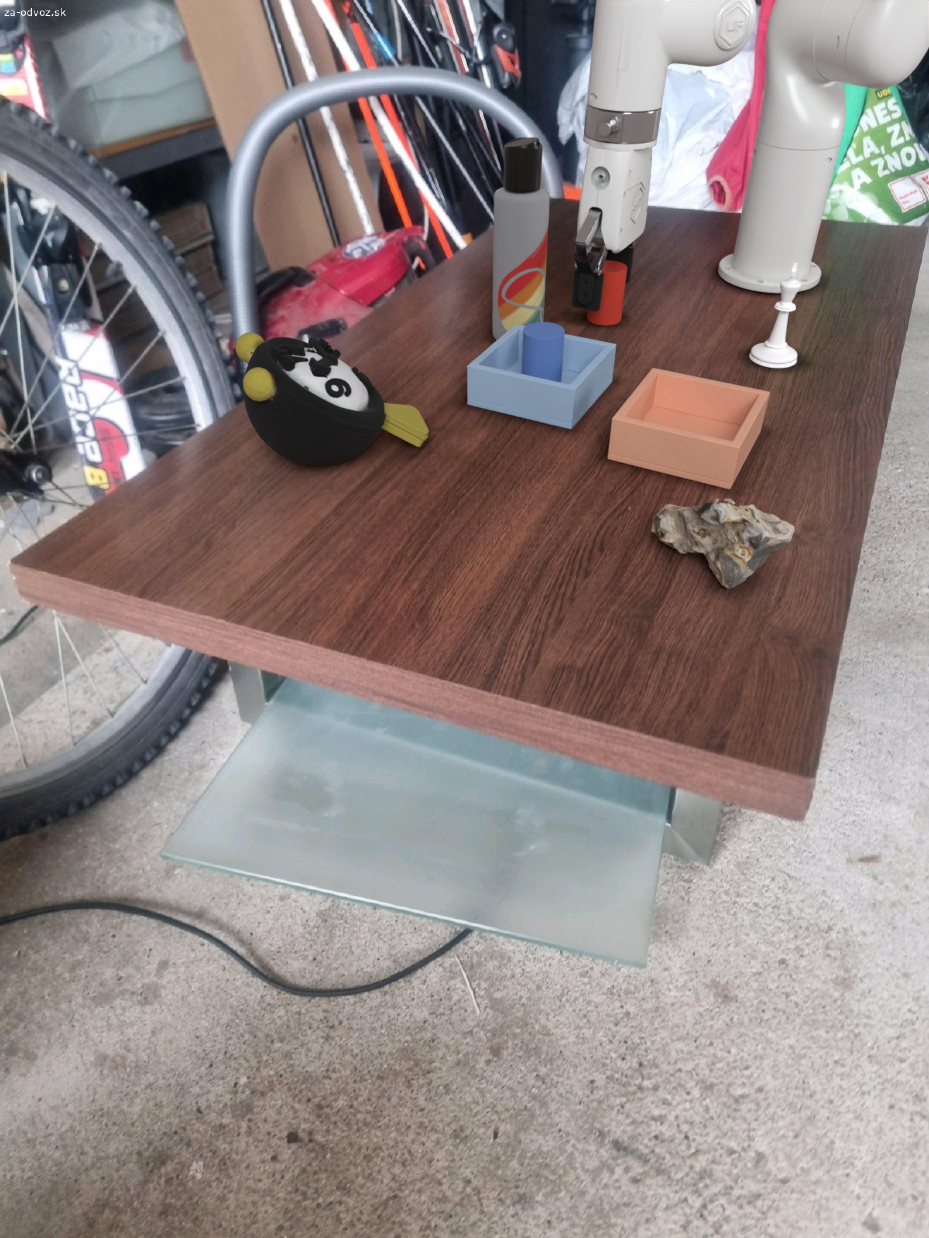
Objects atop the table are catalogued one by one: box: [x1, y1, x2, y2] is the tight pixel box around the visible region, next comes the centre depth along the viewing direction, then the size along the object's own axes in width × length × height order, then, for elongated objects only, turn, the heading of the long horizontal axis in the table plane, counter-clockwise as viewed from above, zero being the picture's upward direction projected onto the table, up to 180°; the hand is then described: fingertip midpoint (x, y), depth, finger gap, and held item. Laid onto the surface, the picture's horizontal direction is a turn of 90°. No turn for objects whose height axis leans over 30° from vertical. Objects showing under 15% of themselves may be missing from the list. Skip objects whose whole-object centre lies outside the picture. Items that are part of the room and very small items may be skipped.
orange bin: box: [607, 367, 771, 490], centre depth 78 cm, size 11×11×4 cm
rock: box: [650, 497, 795, 590], centre depth 64 cm, size 9×7×10 cm
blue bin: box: [466, 324, 617, 430], centre depth 86 cm, size 11×11×4 cm
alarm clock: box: [235, 332, 430, 467], centre depth 75 cm, size 12×15×15 cm
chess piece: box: [748, 262, 801, 369], centre depth 89 cm, size 5×5×10 cm
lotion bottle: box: [492, 136, 551, 341], centre depth 91 cm, size 6×6×20 cm
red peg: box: [586, 260, 627, 326], centre depth 99 cm, size 4×4×6 cm
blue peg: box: [521, 321, 566, 383], centre depth 85 cm, size 4×4×6 cm
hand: (601, 294), depth 99 cm, fingers open, 9 cm apart
